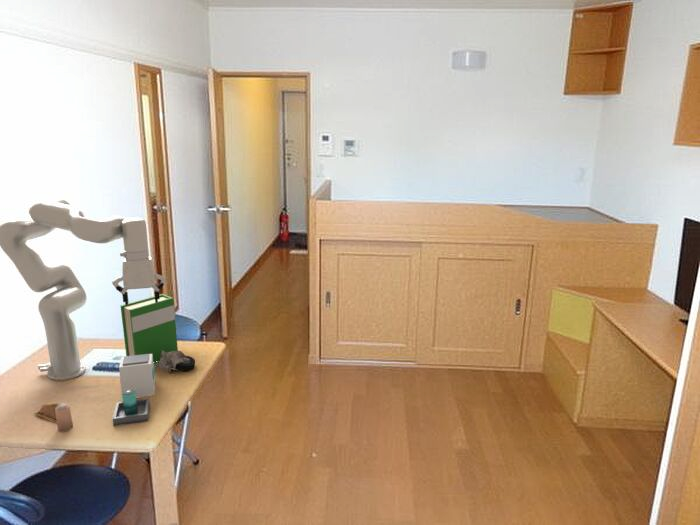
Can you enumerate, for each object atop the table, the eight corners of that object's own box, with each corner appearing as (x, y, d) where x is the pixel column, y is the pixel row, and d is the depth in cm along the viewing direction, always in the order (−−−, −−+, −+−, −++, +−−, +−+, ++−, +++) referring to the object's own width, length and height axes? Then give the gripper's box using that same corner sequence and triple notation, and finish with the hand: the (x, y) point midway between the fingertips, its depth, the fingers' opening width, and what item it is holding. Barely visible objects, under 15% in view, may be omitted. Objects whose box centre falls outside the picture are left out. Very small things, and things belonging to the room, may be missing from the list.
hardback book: (137, 369, 198) (130, 310, 192) (127, 363, 203) (120, 305, 196) (178, 353, 212) (173, 297, 205) (167, 348, 216) (162, 293, 210)
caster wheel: (197, 373, 201) (176, 380, 193) (179, 359, 207) (157, 365, 198) (201, 358, 200) (179, 364, 191) (182, 344, 205) (160, 350, 197)
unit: (121, 399, 177) (117, 365, 174) (124, 388, 185) (120, 355, 181) (155, 395, 180) (151, 362, 177) (156, 384, 188) (153, 352, 184)
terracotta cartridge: (56, 432, 159) (53, 410, 157) (59, 425, 162) (56, 403, 160) (71, 430, 160) (68, 408, 158) (74, 423, 164) (70, 401, 162)
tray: (113, 426, 162) (112, 418, 162) (117, 409, 172) (116, 402, 171) (147, 421, 165) (147, 414, 164) (149, 404, 174) (149, 398, 174)
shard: (57, 424, 164) (57, 419, 163) (30, 428, 161) (29, 423, 161) (65, 406, 174) (64, 401, 173) (39, 410, 171) (38, 405, 171)
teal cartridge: (125, 410, 169) (121, 389, 167) (138, 408, 171) (135, 387, 169) (124, 417, 166) (121, 395, 164) (138, 414, 167) (135, 392, 165)
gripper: (107, 259, 171) (113, 308, 176) (163, 256, 176) (167, 304, 180) (110, 253, 178) (116, 301, 183) (164, 250, 183) (168, 296, 187)
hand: (141, 302), depth 181 cm, fingers open, 9 cm apart
